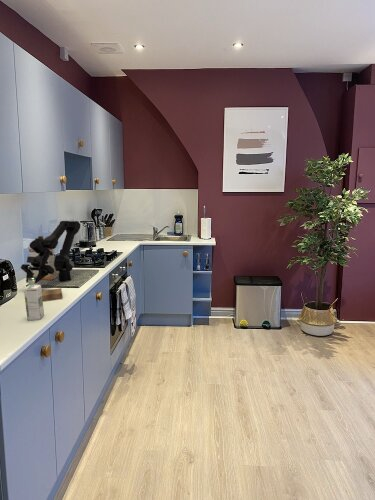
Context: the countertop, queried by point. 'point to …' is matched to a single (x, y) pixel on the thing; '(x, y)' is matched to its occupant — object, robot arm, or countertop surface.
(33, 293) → the syrup box
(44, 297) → the walnut block
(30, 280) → the spice tin
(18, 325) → the countertop surface
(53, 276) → the cracker box
